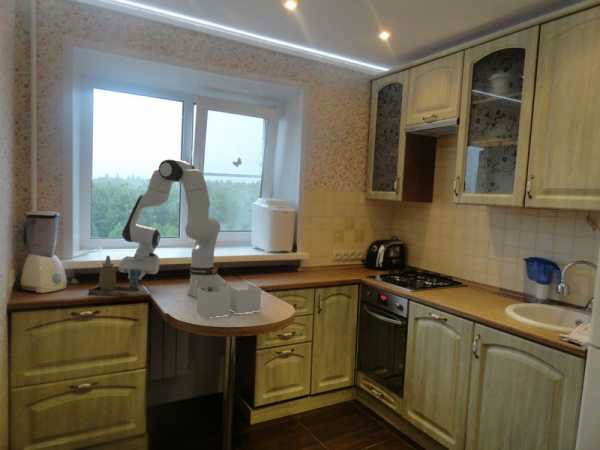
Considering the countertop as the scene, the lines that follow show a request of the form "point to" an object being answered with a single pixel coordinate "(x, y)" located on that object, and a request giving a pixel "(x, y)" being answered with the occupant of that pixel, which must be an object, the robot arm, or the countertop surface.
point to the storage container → (228, 301)
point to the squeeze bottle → (107, 276)
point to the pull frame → (133, 286)
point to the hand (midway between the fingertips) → (134, 278)
